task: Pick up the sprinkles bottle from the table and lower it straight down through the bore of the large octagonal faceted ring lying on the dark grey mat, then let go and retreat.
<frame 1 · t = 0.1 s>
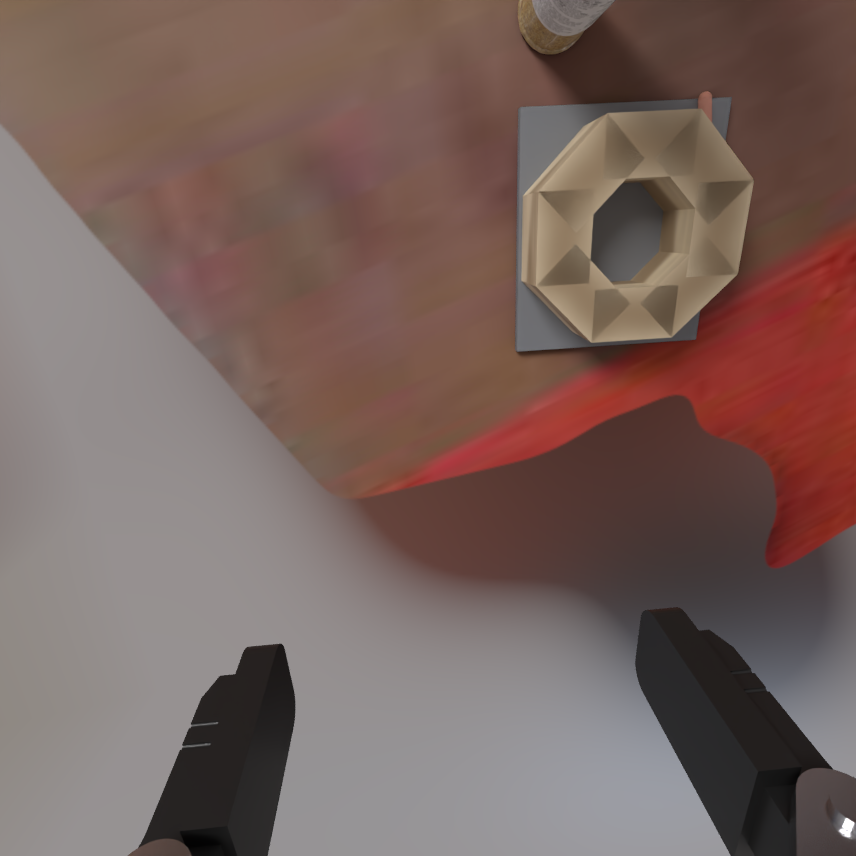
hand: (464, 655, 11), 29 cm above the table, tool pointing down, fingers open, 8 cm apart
octagonal faceted ring: (616, 234, 35), resting on mat
sprinkles bottle: (550, 15, 31), on the table
mat: (612, 234, 36), on the table
reddish pink rod: (702, 198, 35), resting on mat
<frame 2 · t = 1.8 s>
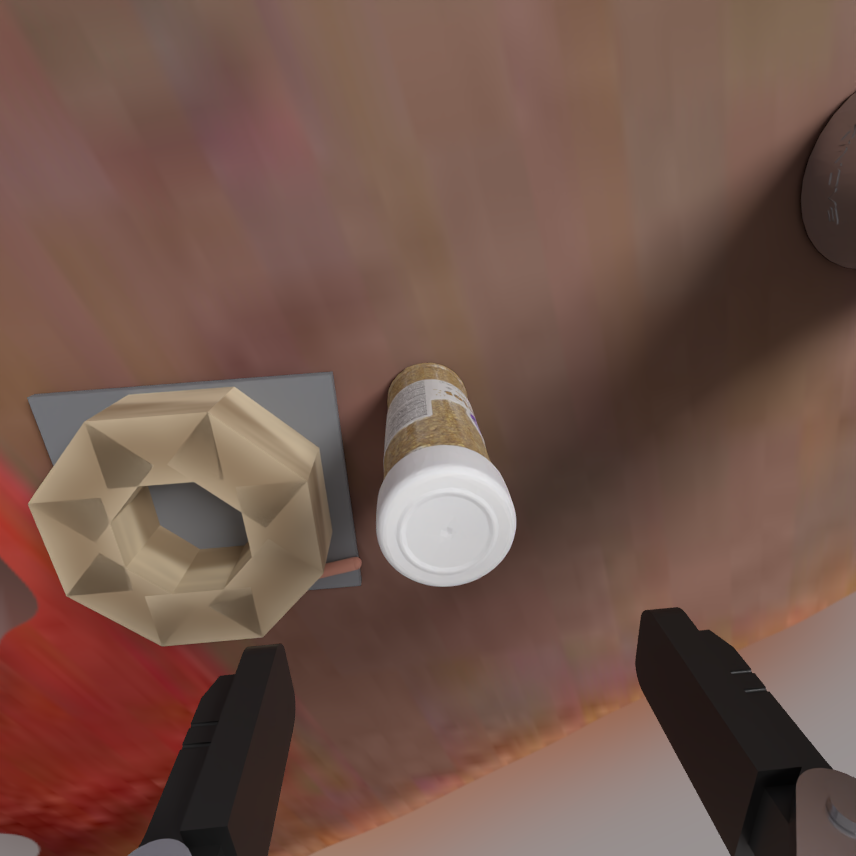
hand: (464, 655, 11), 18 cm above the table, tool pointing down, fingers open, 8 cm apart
octagonal faceted ring: (210, 500, 29), resting on mat
sprinkles bottle: (425, 398, 28), on the table
mat: (213, 495, 30), on the table
reddish pink rod: (263, 581, 31), resting on mat
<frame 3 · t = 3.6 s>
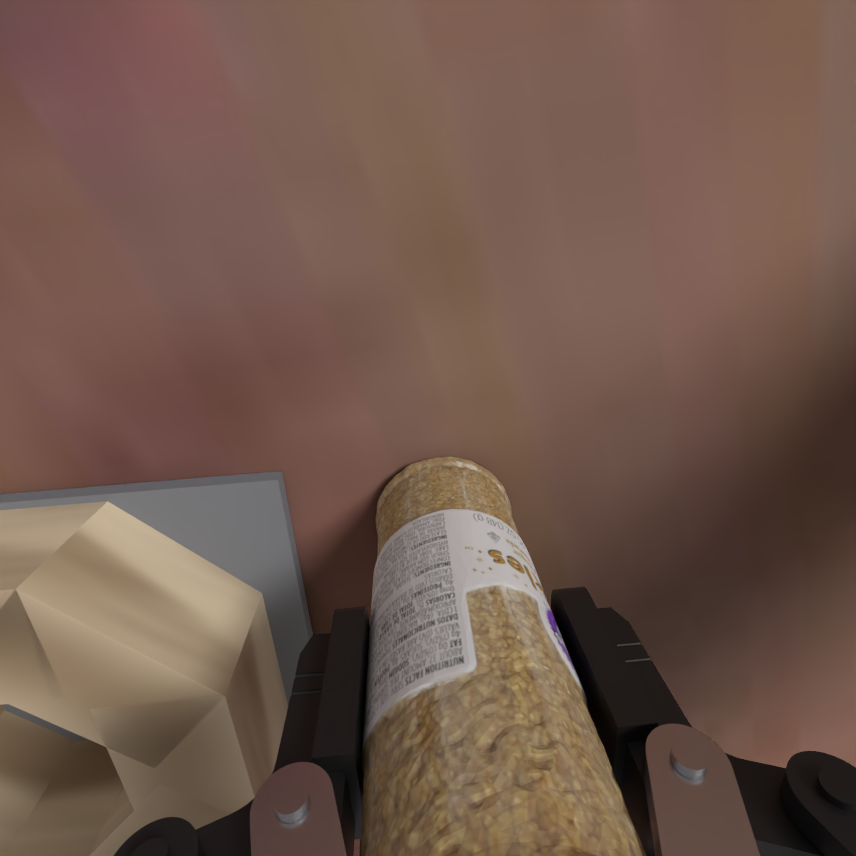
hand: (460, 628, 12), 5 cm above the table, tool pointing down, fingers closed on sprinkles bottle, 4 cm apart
octagonal faceted ring: (84, 673, 18), resting on mat
sprinkles bottle: (440, 508, 17), on the table, touching gripper
mat: (94, 660, 18), on the table
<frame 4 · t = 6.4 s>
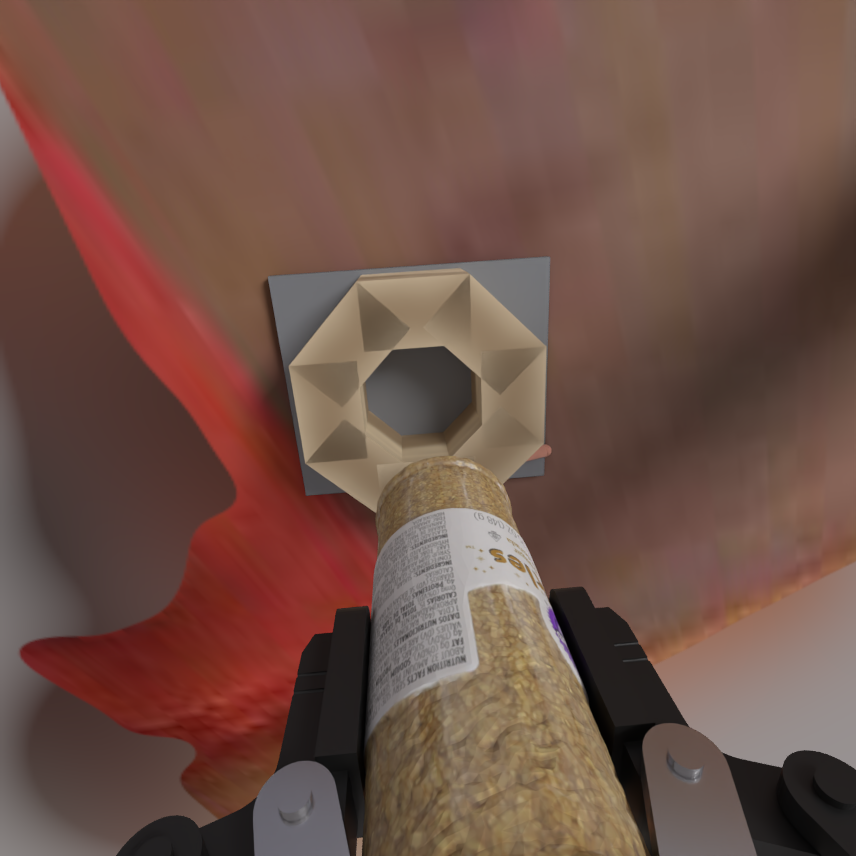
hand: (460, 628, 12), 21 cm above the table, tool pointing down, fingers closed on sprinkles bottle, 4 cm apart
octagonal faceted ring: (418, 385, 31), resting on mat
sprinkles bottle: (440, 507, 17), point 15 cm above the table, touching gripper
mat: (418, 382, 31), on the table
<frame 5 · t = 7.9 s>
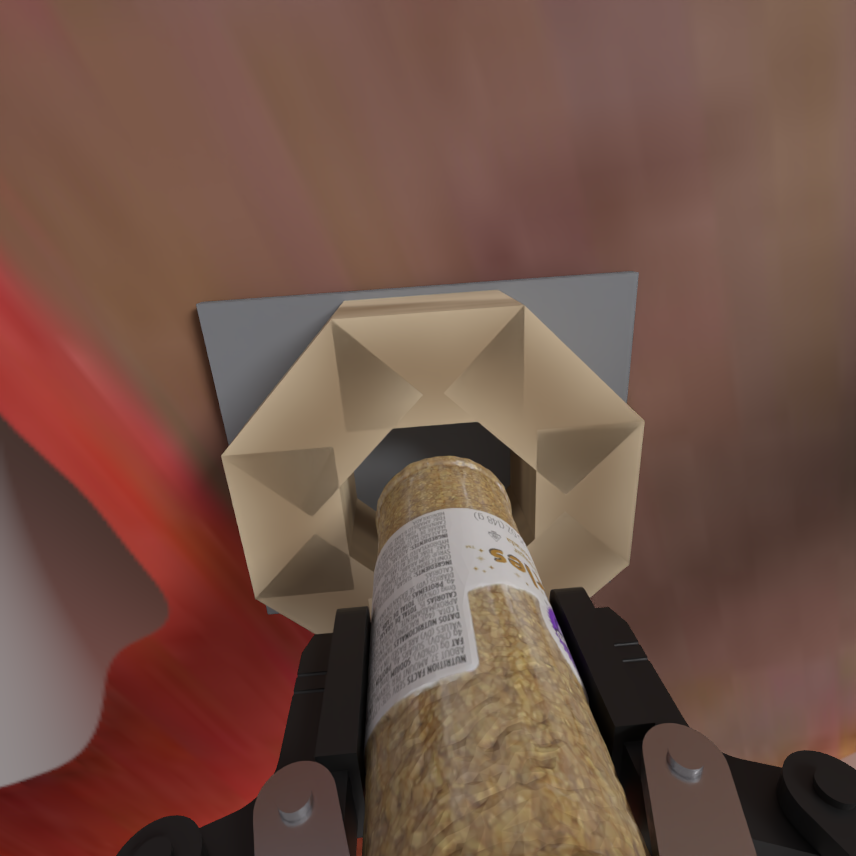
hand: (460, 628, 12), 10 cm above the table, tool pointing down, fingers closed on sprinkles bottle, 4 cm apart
octagonal faceted ring: (432, 462, 21), resting on mat
sprinkles bottle: (440, 507, 17), point 4 cm above the table, touching gripper
mat: (431, 456, 21), on the table
when the fingers open (7 cm above the table, at t = 9.2 s): sprinkles bottle drops 1 cm, resting on mat.
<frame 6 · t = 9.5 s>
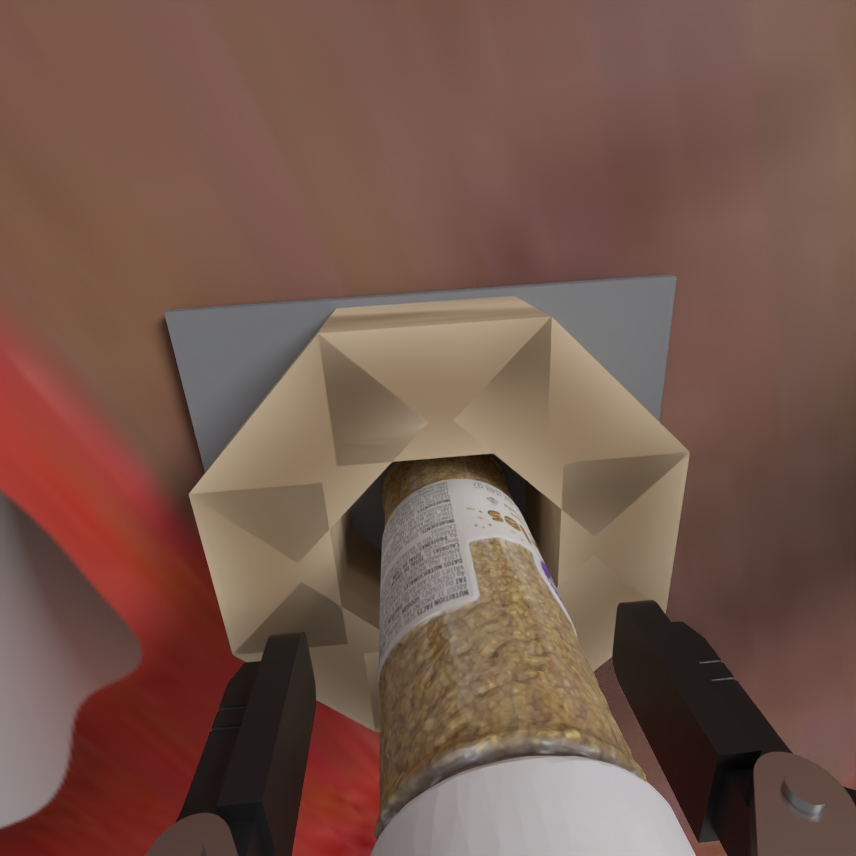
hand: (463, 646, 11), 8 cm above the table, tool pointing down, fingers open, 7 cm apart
octagonal faceted ring: (437, 491, 18), resting on mat
sprinkles bottle: (441, 487, 18), resting on mat
mat: (436, 483, 19), on the table
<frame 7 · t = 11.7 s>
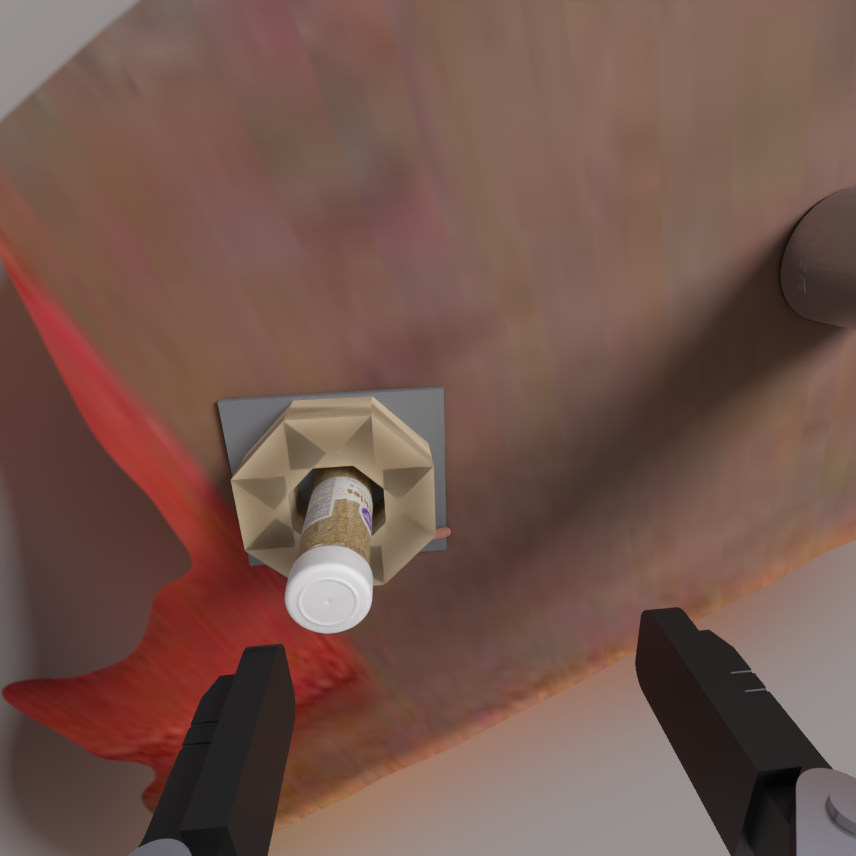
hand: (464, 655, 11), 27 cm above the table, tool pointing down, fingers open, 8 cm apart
octagonal faceted ring: (341, 482, 38), resting on mat
sprinkles bottle: (344, 479, 38), resting on mat
mat: (342, 478, 39), on the table
reddish pink rod: (373, 545, 41), resting on mat
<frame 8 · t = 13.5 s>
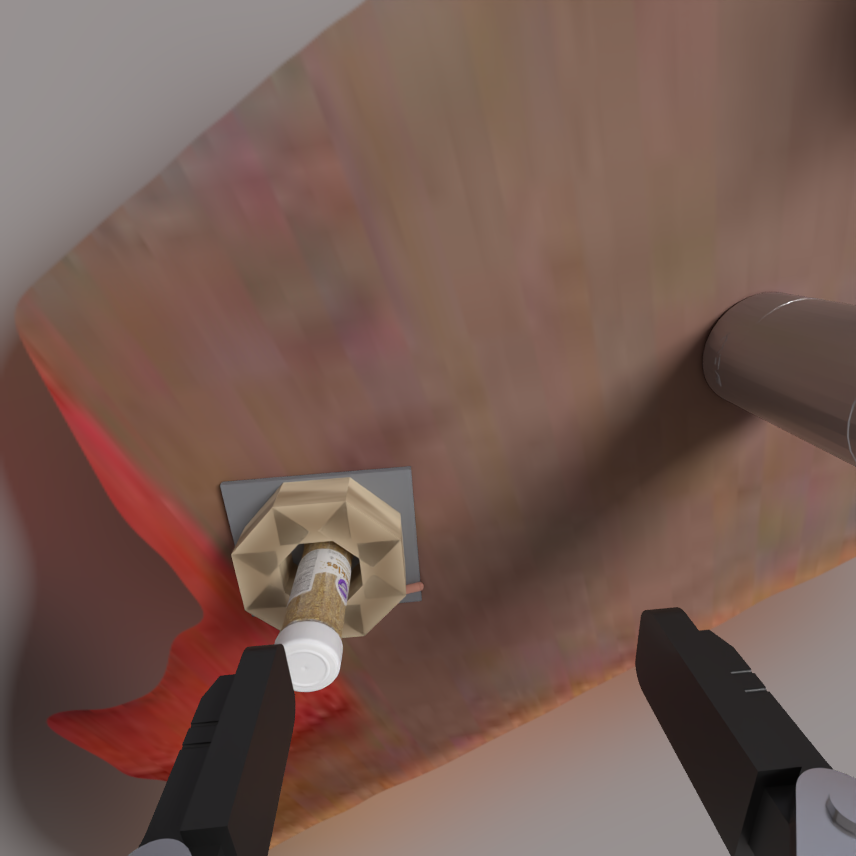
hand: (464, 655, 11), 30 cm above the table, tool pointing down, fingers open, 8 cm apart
octagonal faceted ring: (327, 546, 45), resting on mat
sprinkles bottle: (329, 544, 45), resting on mat
mat: (328, 542, 45), on the table
reddish pink rod: (357, 598, 47), resting on mat
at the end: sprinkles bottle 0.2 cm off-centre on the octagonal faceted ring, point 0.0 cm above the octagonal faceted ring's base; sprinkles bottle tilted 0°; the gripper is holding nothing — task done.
